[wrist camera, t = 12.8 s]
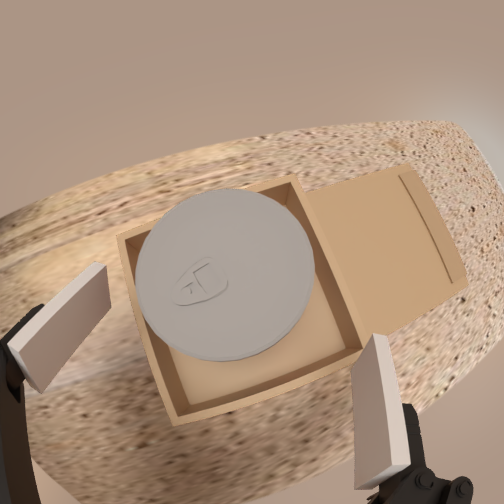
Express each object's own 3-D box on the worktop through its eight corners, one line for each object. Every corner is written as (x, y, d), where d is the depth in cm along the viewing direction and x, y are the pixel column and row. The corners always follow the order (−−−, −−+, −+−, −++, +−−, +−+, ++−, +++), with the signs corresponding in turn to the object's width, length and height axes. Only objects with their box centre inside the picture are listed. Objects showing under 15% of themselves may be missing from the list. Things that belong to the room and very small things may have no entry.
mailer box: (187, 412, 21) (173, 426, 16) (137, 253, 25) (116, 235, 20) (467, 285, 23) (495, 274, 19) (407, 164, 27) (425, 140, 23)
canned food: (167, 309, 22) (102, 279, 12) (233, 236, 24) (220, 157, 14) (240, 374, 21) (228, 403, 10) (307, 296, 23) (350, 255, 12)
